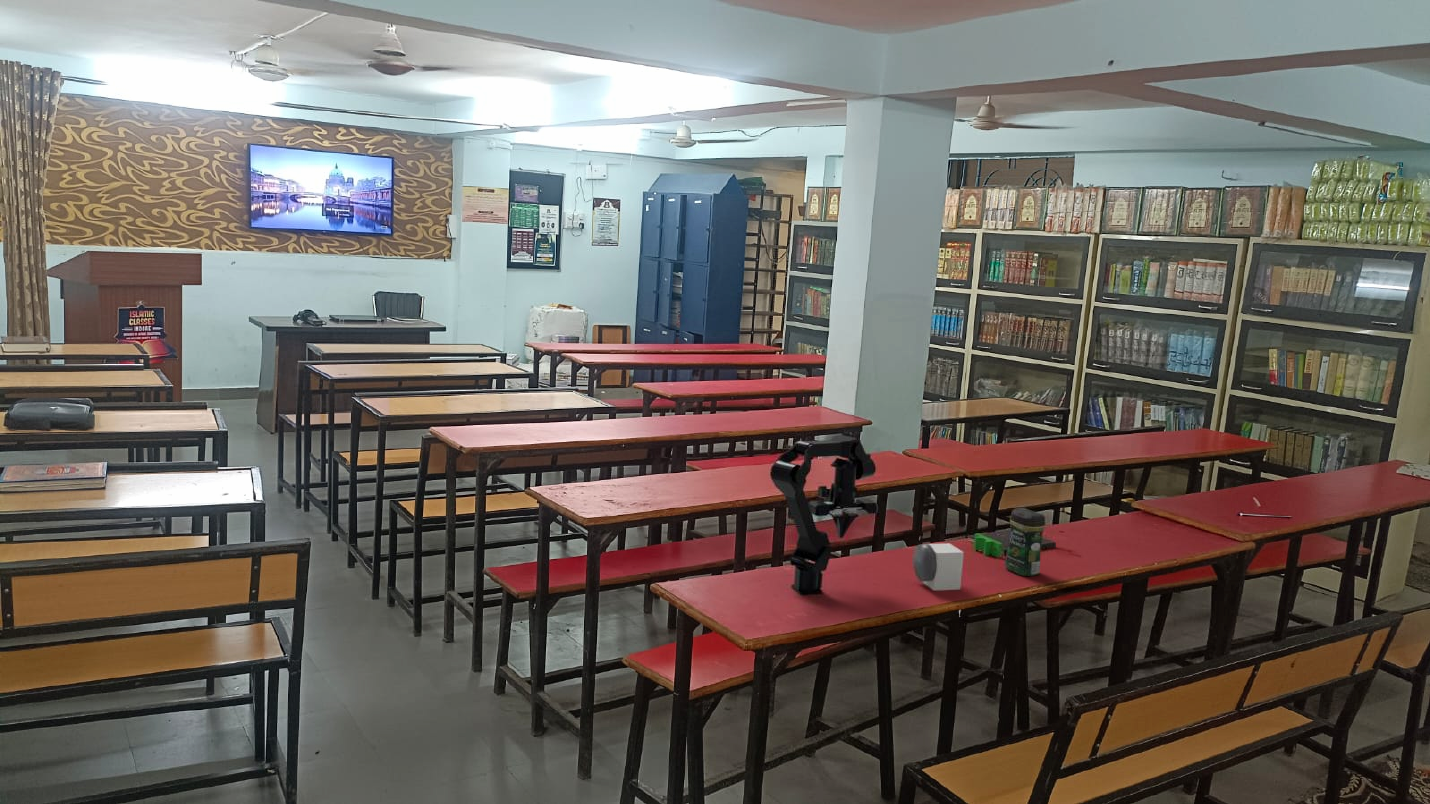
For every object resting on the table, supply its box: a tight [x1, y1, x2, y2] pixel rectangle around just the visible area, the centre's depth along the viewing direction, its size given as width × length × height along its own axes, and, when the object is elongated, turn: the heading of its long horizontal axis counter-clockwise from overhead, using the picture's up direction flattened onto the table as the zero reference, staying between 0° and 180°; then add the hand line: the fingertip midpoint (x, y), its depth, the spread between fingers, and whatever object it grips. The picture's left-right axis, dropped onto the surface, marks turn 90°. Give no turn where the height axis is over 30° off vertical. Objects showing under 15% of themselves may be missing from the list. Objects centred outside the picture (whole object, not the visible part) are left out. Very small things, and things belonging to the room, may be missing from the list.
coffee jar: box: [1004, 507, 1046, 577], centre depth 285 cm, size 10×8×19 cm
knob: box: [912, 543, 937, 582], centre depth 269 cm, size 7×10×10 cm
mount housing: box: [921, 543, 965, 591], centre depth 270 cm, size 8×8×10 cm
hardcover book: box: [966, 529, 1057, 556], centre depth 313 cm, size 16×23×2 cm
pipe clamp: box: [973, 533, 1002, 558], centre depth 303 cm, size 11×4×5 cm, turn 26°
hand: (840, 537), depth 268 cm, fingers closed
